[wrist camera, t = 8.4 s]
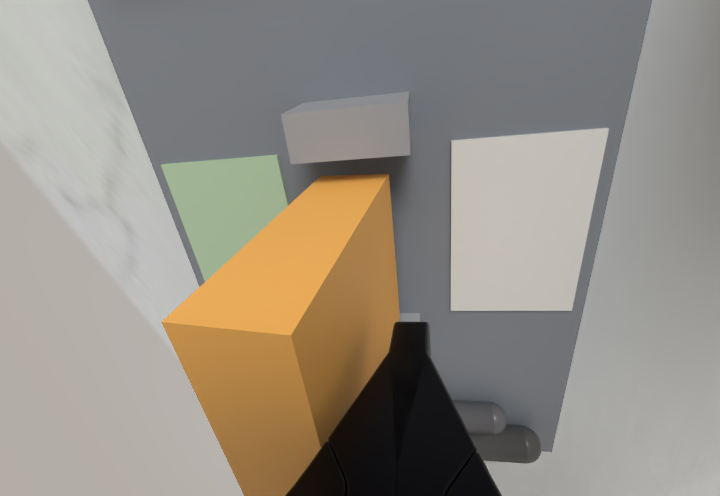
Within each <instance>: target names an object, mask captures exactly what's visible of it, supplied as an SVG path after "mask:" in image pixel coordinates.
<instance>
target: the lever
mask: <svg viewBox="0 0 720 496" xmlns="http://www.w3.org/2000/svg"><path fill="white" fill-rule="evenodd" d="M399 321H400V310H399V297H398V284H397V271H396V258H395V245H394V233H393V220H392V207H391V194H390V181H389V174H370V175H337V176H320V177H319V178H318V179H317V180H316V181H315V182H313V183H312V184H311V185H310V186H309V187H308V188H307V189H306V190H305V191H304V192H303V193H301V194H300V195H299V196H298V197H297V198H296V199H295V200H294V201H293V202H292V203H291V204H290V205H288V206H287V207H286V208H285V209H284V210H283V211H282V212H281V213H280V214H279V215H278V216H276V217H275V218H274V219H273V220H272V221H271V222H270V223H269V224H268V225H267V226H266V227H264V228H263V229H262V230H261V231H260V232H259V233H258V234H257V235H256V236H255V237H254V238H252V239H251V240H250V241H249V242H248V243H247V244H246V245H245V246H244V247H243V248H242V249H240V250H239V251H238V252H237V253H236V254H235V255H234V256H233V257H232V258H231V259H230V260H229V261H227V262H226V263H225V264H224V265H223V266H222V267H221V268H220V269H219V270H218V271H217V272H215V273H214V274H213V275H212V276H211V277H210V278H209V279H208V280H207V281H206V282H205V283H203V284H202V285H201V286H200V287H199V288H198V289H197V290H196V291H195V292H194V293H193V294H191V295H190V296H189V297H188V298H187V299H186V300H185V301H184V302H183V303H182V304H181V305H180V306H178V307H177V308H176V309H175V310H174V311H173V312H172V313H171V314H170V315H169V316H168V317H166V318H165V319H164V320H163V321H162V324H163V326H164V328H165V330H166V332H167V334H168V336H169V339H170V341H171V343H172V345H173V347H174V349H175V351H176V353H177V355H178V357H179V360H180V362H181V364H182V366H183V368H184V370H185V372H186V374H187V376H188V378H189V380H190V382H191V385H192V387H193V389H194V391H195V393H196V395H197V397H198V399H199V401H200V403H201V406H202V408H203V410H204V412H205V414H206V416H207V418H208V420H209V422H210V424H211V427H212V429H213V431H214V433H215V435H216V437H217V439H218V441H219V443H220V445H221V448H222V450H223V452H224V454H225V456H226V458H227V460H228V462H229V464H230V466H231V469H232V470H233V473H234V475H235V477H236V479H237V481H238V483H239V485H240V487H241V490H242V492H243V494H244V496H285V495H286V494H287V493H288V492H289V490H290V489H291V488H292V487H293V486H294V484H295V483H296V482H297V480H298V479H299V478H300V476H301V475H302V474H303V472H304V471H305V470H306V468H307V467H308V466H309V464H310V463H311V462H312V460H313V459H314V457H315V456H316V454H317V453H318V452H319V450H320V449H321V447H322V446H323V444H324V443H325V442H328V438H329V436H330V435H331V433H332V432H333V431H334V429H335V428H336V426H337V425H338V423H339V422H340V421H341V419H342V418H343V416H344V415H345V413H346V412H347V411H348V409H349V408H350V406H351V405H352V403H353V402H354V401H355V399H356V398H357V396H358V395H359V394H360V392H361V391H362V389H363V388H364V386H365V385H366V384H367V382H368V381H369V379H370V378H371V376H372V375H373V374H374V372H375V371H376V369H377V368H378V366H379V365H380V364H381V362H382V361H383V359H384V358H385V356H386V355H387V354H388V352H389V348H390V342H391V337H392V332H393V326H394V323H395V322H399Z"/></svg>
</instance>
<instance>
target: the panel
mask: <svg viewBox="0 0 720 496" xmlns="http://www.w3.org/2000/svg"><path fill="white" fill-rule="evenodd" d="M88 2H89V4H90V7H91V9H92V12H93V15H94V17H95V20H96V22H97V25H98V27H99V30H100V33H101V35H102V38H103V40H104V43H105V45H106V48H107V50H108V53H109V56H110V58H111V61H112V63H113V66H114V68H115V71H116V74H117V76H118V79H119V81H120V84H121V86H122V89H123V91H124V94H125V97H126V99H127V102H128V104H129V107H130V109H131V112H132V115H133V117H134V120H135V122H136V125H137V127H138V130H139V132H140V135H141V138H142V140H143V143H144V145H145V148H146V150H147V153H148V156H149V158H150V161H151V163H152V166H153V168H154V171H155V173H156V176H157V179H158V181H159V184H160V186H161V189H162V191H163V194H164V197H165V199H166V202H167V204H168V207H169V209H170V212H171V214H172V217H173V220H174V222H175V225H176V227H177V230H178V232H179V235H180V238H181V240H182V243H183V245H184V248H185V250H186V253H187V255H188V258H189V261H190V263H191V266H192V268H193V271H194V273H195V276H196V279H197V281H198V284H199V286H201V285H202V284H203V283H205V282H206V281H207V280H208V279H209V278H210V277H211V276H212V275H213V274H214V273H215V272H217V271H218V270H219V269H220V268H221V267H222V266H223V265H224V264H225V263H226V262H227V261H229V260H230V259H231V258H232V257H233V256H234V255H235V254H236V253H237V252H238V251H239V250H240V249H242V248H243V247H244V246H245V245H246V244H247V243H248V242H249V241H250V240H251V239H252V238H254V237H255V236H256V235H257V234H258V233H259V232H260V231H261V230H262V229H263V228H264V227H266V226H267V225H268V224H269V223H270V222H271V221H272V220H273V219H274V218H275V217H276V216H278V215H279V214H280V213H281V212H282V211H283V210H284V209H285V208H286V207H287V206H288V205H290V204H291V203H292V202H293V201H294V200H295V199H296V198H297V197H298V196H299V195H300V194H301V193H303V192H304V191H305V190H306V189H307V188H308V187H309V186H310V185H311V184H312V183H313V182H315V181H316V180H317V179H318V178H319V177H320V176H337V175H370V174H389V181H390V194H391V207H392V220H393V233H394V245H395V258H396V271H397V284H398V297H399V310H400V321H399V322H428V323H429V326H430V345H431V358H432V360H433V362H434V364H435V366H436V368H437V370H438V372H439V374H440V376H441V378H442V380H443V382H444V384H445V386H446V388H447V390H448V392H449V394H450V396H451V398H452V400H453V402H454V404H455V406H456V408H457V410H458V412H459V414H460V416H461V418H462V420H463V422H464V424H465V426H466V428H467V430H468V432H469V434H470V436H471V438H472V440H473V442H474V444H475V446H476V448H477V452H478V453H479V454H480V455H481V457H482V459H483V460H484V461H499V462H513V463H531V462H534V461H536V460H537V459H538V458H539V456H540V454H541V451H545V452H552V447H553V443H554V438H555V434H556V429H557V425H558V420H559V416H560V411H561V407H562V402H563V398H564V393H565V389H566V384H567V380H568V375H569V371H570V366H571V362H572V357H573V353H574V348H575V344H576V339H577V335H578V330H579V326H580V321H581V317H582V312H583V308H584V304H585V299H586V295H587V290H588V286H589V281H590V277H591V272H592V268H593V263H594V259H595V254H596V250H597V245H598V241H599V236H600V232H601V227H602V223H603V218H604V214H605V209H606V205H607V200H608V196H609V191H610V187H611V182H612V178H613V173H614V169H615V164H616V160H617V155H618V151H619V146H620V142H621V137H622V133H623V128H624V124H625V119H626V115H627V110H628V106H629V101H630V97H631V92H632V88H633V83H634V79H635V74H636V70H637V65H638V61H639V56H640V52H641V47H642V43H643V39H644V34H645V30H646V25H647V21H648V16H649V12H650V7H651V3H652V0H88Z"/></svg>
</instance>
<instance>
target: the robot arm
mask: <svg viewBox="0 0 720 496" xmlns="http://www.w3.org/2000/svg"><path fill="white" fill-rule="evenodd" d="M285 496H502V495H501V493H500V491H499V490H498V488H497V486H496V484H495V482H494V480H493V479H492V477H491V475H490V473H489V471H488V469H487V467H486V465H485V463H484V461H483V459H482V457H481V455H480V454H479V453H478V452H477V448H476V446H475V444H474V442H473V440H472V438H471V436H470V434H469V432H468V430H467V428H466V426H465V424H464V422H463V420H462V418H461V416H460V414H459V412H458V410H457V408H456V406H455V404H454V402H453V400H452V398H451V396H450V394H449V392H448V390H447V388H446V386H445V384H444V382H443V380H442V378H441V376H440V374H439V372H438V370H437V368H436V366H435V364H434V362H433V360H432V358H431V345H430V326H429V323H428V322H395V323H394V326H393V332H392V337H391V342H390V348H389V352H388V354H387V355H386V356H385V358H384V359H383V361H382V362H381V364H380V365H379V366H378V368H377V369H376V371H375V372H374V374H373V375H372V376H371V378H370V379H369V381H368V382H367V384H366V385H365V386H364V388H363V389H362V391H361V392H360V394H359V395H358V396H357V398H356V399H355V401H354V402H353V403H352V405H351V406H350V408H349V409H348V411H347V412H346V413H345V415H344V416H343V418H342V419H341V421H340V422H339V423H338V425H337V426H336V428H335V429H334V431H333V432H332V433H331V435H330V436H329V438H328V442H325V443H324V444H323V446H322V447H321V449H320V450H319V452H318V453H317V454H316V456H315V457H314V459H313V460H312V462H311V463H310V464H309V466H308V467H307V468H306V470H305V471H304V472H303V474H302V475H301V476H300V478H299V479H298V480H297V482H296V483H295V484H294V486H293V487H292V488H291V489H290V490H289V492H288V493H287V494H286V495H285Z"/></svg>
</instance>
